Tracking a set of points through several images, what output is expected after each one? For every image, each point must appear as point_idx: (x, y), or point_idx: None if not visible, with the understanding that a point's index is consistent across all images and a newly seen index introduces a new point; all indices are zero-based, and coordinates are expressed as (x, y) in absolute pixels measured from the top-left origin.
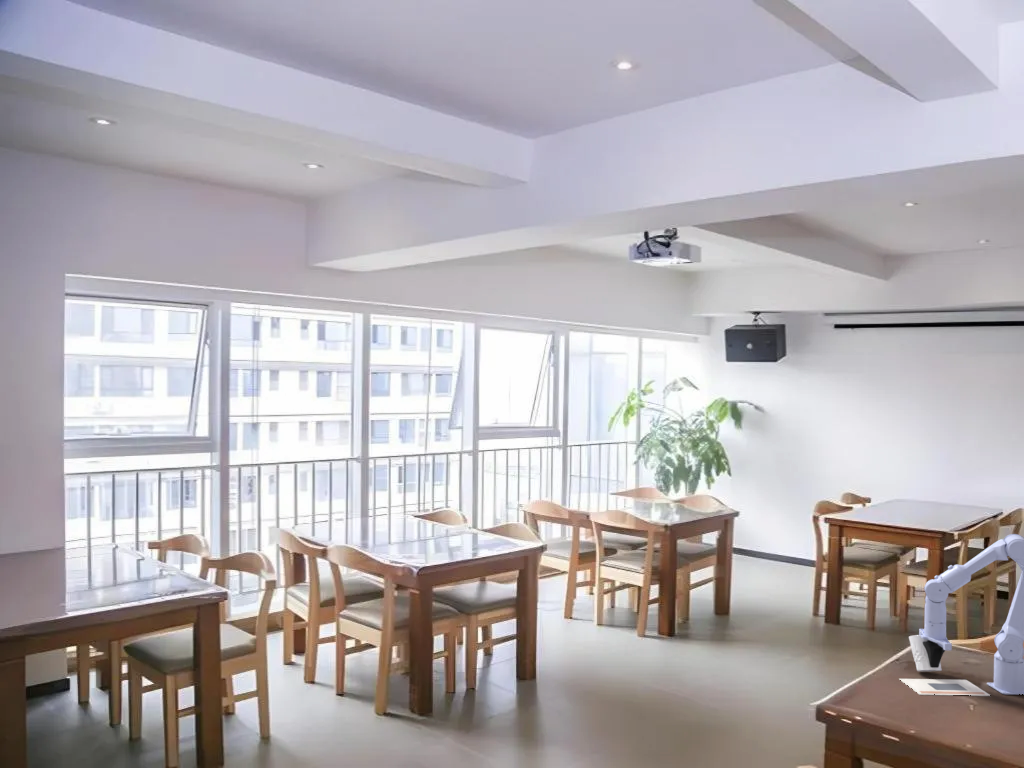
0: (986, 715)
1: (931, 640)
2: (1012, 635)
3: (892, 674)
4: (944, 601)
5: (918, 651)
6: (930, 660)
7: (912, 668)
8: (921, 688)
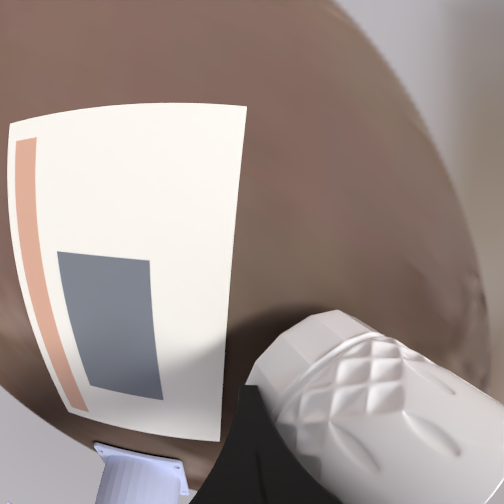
0: None
1: None
2: None
3: (346, 126)
4: None
5: (380, 414)
6: (238, 420)
7: (404, 316)
8: (67, 172)
